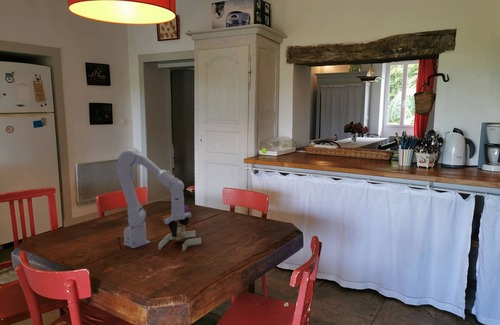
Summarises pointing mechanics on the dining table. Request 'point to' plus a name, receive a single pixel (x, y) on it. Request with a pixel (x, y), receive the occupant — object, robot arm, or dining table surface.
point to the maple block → (180, 232)
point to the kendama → (186, 209)
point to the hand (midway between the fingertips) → (178, 235)
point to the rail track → (186, 243)
